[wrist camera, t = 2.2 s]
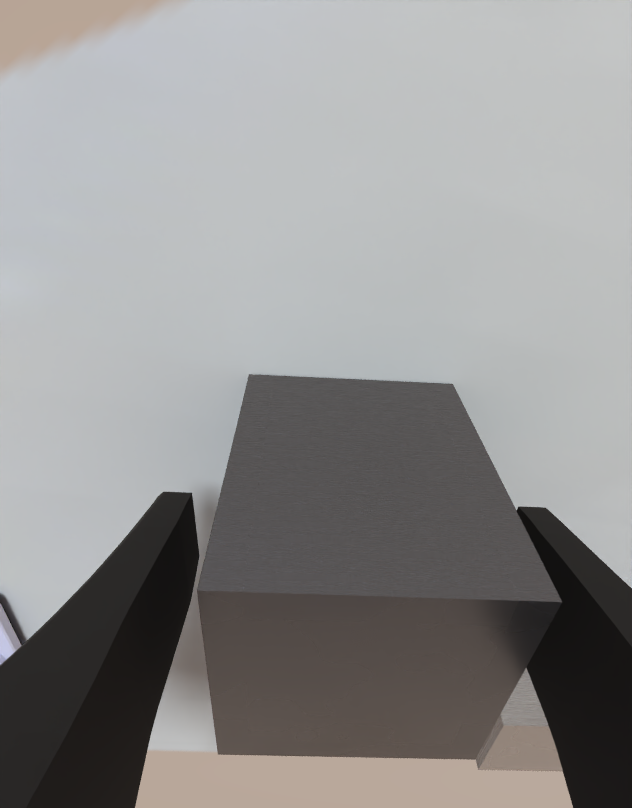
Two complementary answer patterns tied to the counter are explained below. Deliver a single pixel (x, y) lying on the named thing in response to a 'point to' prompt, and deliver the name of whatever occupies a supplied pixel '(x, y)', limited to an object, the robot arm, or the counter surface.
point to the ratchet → (520, 735)
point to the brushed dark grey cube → (365, 576)
